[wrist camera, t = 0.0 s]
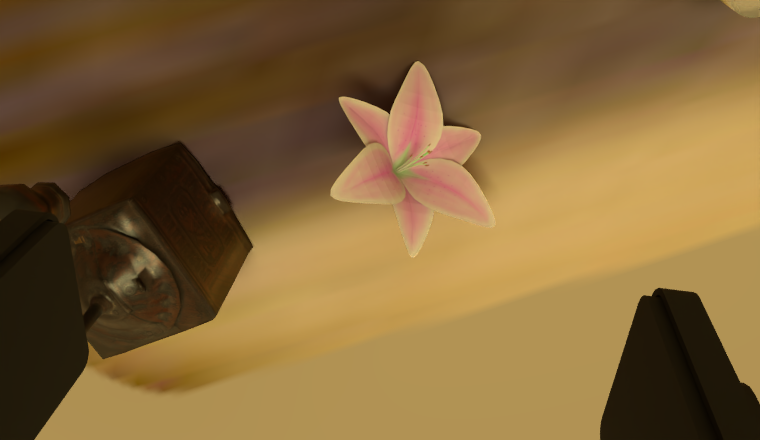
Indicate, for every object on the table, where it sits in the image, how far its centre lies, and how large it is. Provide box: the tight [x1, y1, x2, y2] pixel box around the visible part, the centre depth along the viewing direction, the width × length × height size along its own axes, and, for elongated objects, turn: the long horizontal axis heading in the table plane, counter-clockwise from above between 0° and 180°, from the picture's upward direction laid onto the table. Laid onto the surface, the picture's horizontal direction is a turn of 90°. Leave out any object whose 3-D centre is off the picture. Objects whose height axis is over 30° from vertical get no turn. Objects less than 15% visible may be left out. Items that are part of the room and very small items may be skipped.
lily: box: [330, 61, 495, 258], centre depth 47 cm, size 12×12×10 cm
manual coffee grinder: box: [0, 143, 253, 359], centre depth 46 cm, size 16×11×18 cm
